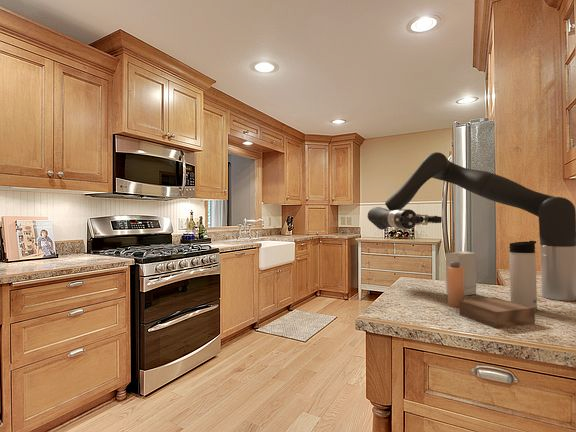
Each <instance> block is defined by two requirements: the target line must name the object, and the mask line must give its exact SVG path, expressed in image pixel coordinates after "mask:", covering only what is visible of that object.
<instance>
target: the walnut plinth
mask: <svg viewBox="0 0 576 432" xmlns="http://www.w3.org/2000/svg"><path fill="white" fill-rule="evenodd" d="M535 312H536V311H535V310H534V308H533V307H530V306H526V305H522V304H518V303H514V302H511V300H507V299H503V298H499V297H495V296H492V297H490V296H489V297H482V298H472V299H471V298H470V299H464V300H460V301H459V316H462V317H464V318H468V319H470V320H473V321H475V322H478V323H481V324H484V325H486V326H489V327H492V328H495V329H504V328H511V327H519V325H520V326H526V325H525V324H527V325H533V323H535V324H536V316H535V315H536V314H535Z"/></svg>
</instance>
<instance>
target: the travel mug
mask: <svg viewBox="0 0 576 432" xmlns="http://www.w3.org/2000/svg"><path fill="white" fill-rule="evenodd" d="M536 244H537V241H536V240H529V241H516V242H511V243H509V247H508V248H509V253H508V254H509V283H510V284H509V287H510V289H509V290H510V301H511V302H514V303H518V304H522V305H526V306H530V307H533V308H534V310H535V312H536V311H537V310H538V298H537V295H538V294H537V293H538V292H537V263H536V261H537V260H536V258H537V257H536Z"/></svg>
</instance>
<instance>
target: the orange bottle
mask: <svg viewBox="0 0 576 432" xmlns="http://www.w3.org/2000/svg"><path fill="white" fill-rule="evenodd" d="M447 290H448V293H447V306H448V307H450V308H455V309H456V308H457V309H458V308H459V301H460V300H465V296H464V267H460V262H450V266H447V284H446V291H447Z"/></svg>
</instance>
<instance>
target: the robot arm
mask: <svg viewBox="0 0 576 432" xmlns="http://www.w3.org/2000/svg"><path fill="white" fill-rule="evenodd" d="M430 179H435V180H439V181H442V182H443V181H444V182H446V183H450V184H453V185H456V186H458V187H460V188H462V189H464V190H466V191H468V192H471V193H473V194H475V195H478V196H479V197H482V198H484V199H486V200H489V201H493V202H495V203H499V204H502V205H506V206H510V207H512V208H513V207H514V208H517V209H521V210H523V211H525V212H527V213H529V214H532V215H534V216H536V217H538V231H539V233H538V234H539V244H540V245H539V249H540V252H539V253H540V277H541V278H540V279H541V280H540V281H541V297H543V298H546V299H551V300H557V301H567V302H569V301H570V302H571V301H572V302H573V301H576V207H575V205H574V203H573V202H572V201H571V200H569V199H568V198H565V197H562V196H553V195H550V194H545V193H542V192H538V191H535V190H533V189H530V188H527V187H526V186H524V185H522V184H520V183H518V182H516V181H514V180H511V179H509V178H507V177H505V176H502V175H498V174H497V173H493V172H489V171H485V170H480V169H471V168H467V167H463V166H461V165H459V164H456V163H454V162H453V161H450V160H449V159H448V157H446V155H445V154H444V153H442V152H439V151H438V152H432V153H430V154H428V155H427V156H426V157H425V158H424V159H423V161H422V162H421V163H420V164H419V165H418V167H417V168H416V170H414V172H413V173H412V174H411V175H410V177H408V179H407V180H406V181H404V183H403V184H402V185H401V186H400V187H399V188H398V189H397V190H396V191H395V192H394V193H393V194H392V195H391V196H389V198H387V199H386V200H385V203H384V204H385V206H386V208H384V207H381V206H375V207H372V208H371V209H369V211H368V213H367V219H368V221H369V222H370V223H372V225H374V226H375V227H376V228H377V229H379V230H382V231H383V230H386V229H388V228H394V229H401V230H411V229H414V227H416V226H417V225H418V226H419V225H428V224H442V221H443V217H442V216H438V215H428V214H420V213H416V212H415V211H414V210H413V209H406V208H405V207H406V206H407V205H408V204H409V203H410V202H411V201H412V199H413V198H414V197H415V195H416V194H417V193H418V192H419V190H420V189H421V188H422V187H423V185H424V184H426V182H427V181H429V180H430ZM404 208H405V209H404Z"/></svg>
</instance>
